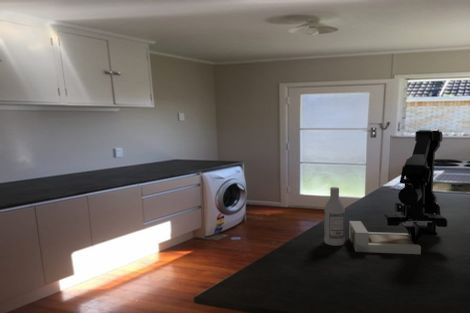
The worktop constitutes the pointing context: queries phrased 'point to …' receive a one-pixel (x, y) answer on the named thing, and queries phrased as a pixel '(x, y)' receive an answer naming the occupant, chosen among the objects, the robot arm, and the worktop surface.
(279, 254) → the worktop surface
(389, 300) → the worktop surface
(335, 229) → the bath foam
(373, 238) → the tan wooden block
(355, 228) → the canopy channel
